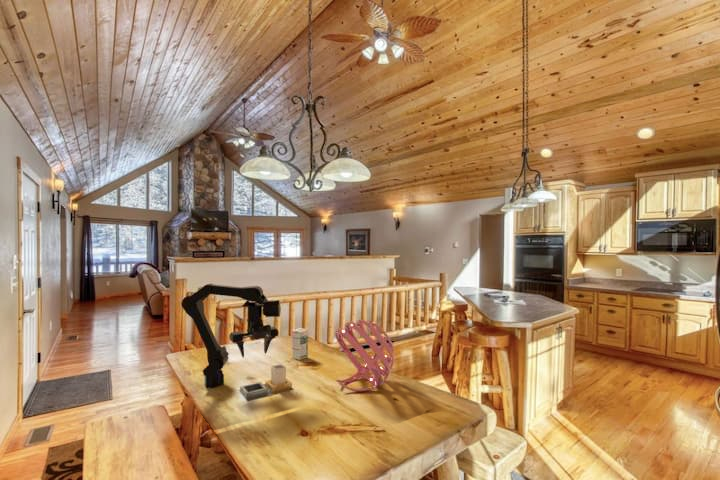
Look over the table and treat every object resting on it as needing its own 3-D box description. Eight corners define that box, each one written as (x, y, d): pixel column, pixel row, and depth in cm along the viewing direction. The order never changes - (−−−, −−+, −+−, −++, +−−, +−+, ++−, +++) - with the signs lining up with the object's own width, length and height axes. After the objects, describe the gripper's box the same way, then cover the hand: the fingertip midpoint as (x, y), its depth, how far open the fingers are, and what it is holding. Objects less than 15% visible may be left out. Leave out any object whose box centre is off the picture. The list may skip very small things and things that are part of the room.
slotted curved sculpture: (318, 350, 125) (373, 304, 135) (309, 348, 151) (356, 309, 161) (365, 413, 123) (417, 362, 133) (347, 400, 149) (392, 358, 159)
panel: (247, 403, 125) (247, 395, 125) (238, 392, 135) (238, 384, 135) (293, 392, 135) (294, 384, 135) (282, 382, 145) (282, 375, 145)
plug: (275, 390, 135) (275, 369, 135) (271, 386, 138) (271, 365, 139) (285, 387, 137) (285, 366, 137) (281, 383, 141) (281, 363, 141)
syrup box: (299, 360, 174) (299, 331, 174) (291, 358, 177) (291, 329, 178) (307, 357, 178) (308, 329, 179) (300, 355, 182) (300, 327, 182)
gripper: (236, 323, 130) (236, 365, 130) (283, 317, 141) (283, 356, 140) (229, 318, 139) (228, 357, 139) (273, 313, 150) (273, 349, 149)
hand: (254, 355), depth 142 cm, fingers open, 9 cm apart
